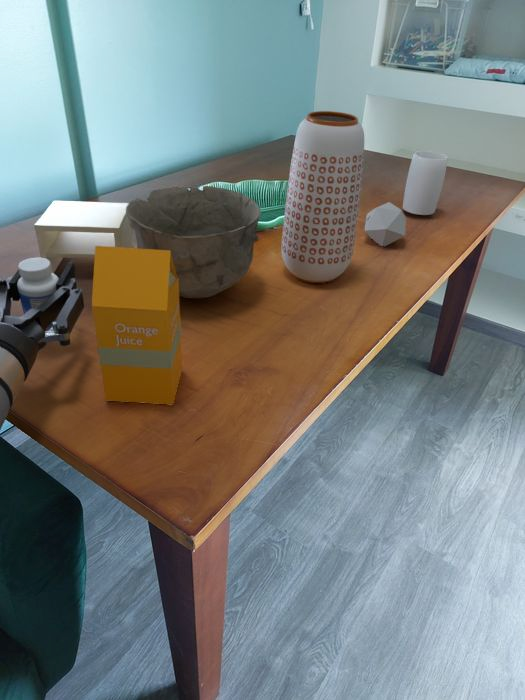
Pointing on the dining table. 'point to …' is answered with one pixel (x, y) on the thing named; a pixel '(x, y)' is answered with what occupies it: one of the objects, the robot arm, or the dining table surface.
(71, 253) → the shelf
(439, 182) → the cup
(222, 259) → the bowl
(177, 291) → the orange juice
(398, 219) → the die
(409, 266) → the dining table surface
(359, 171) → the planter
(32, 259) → the pill bottle
